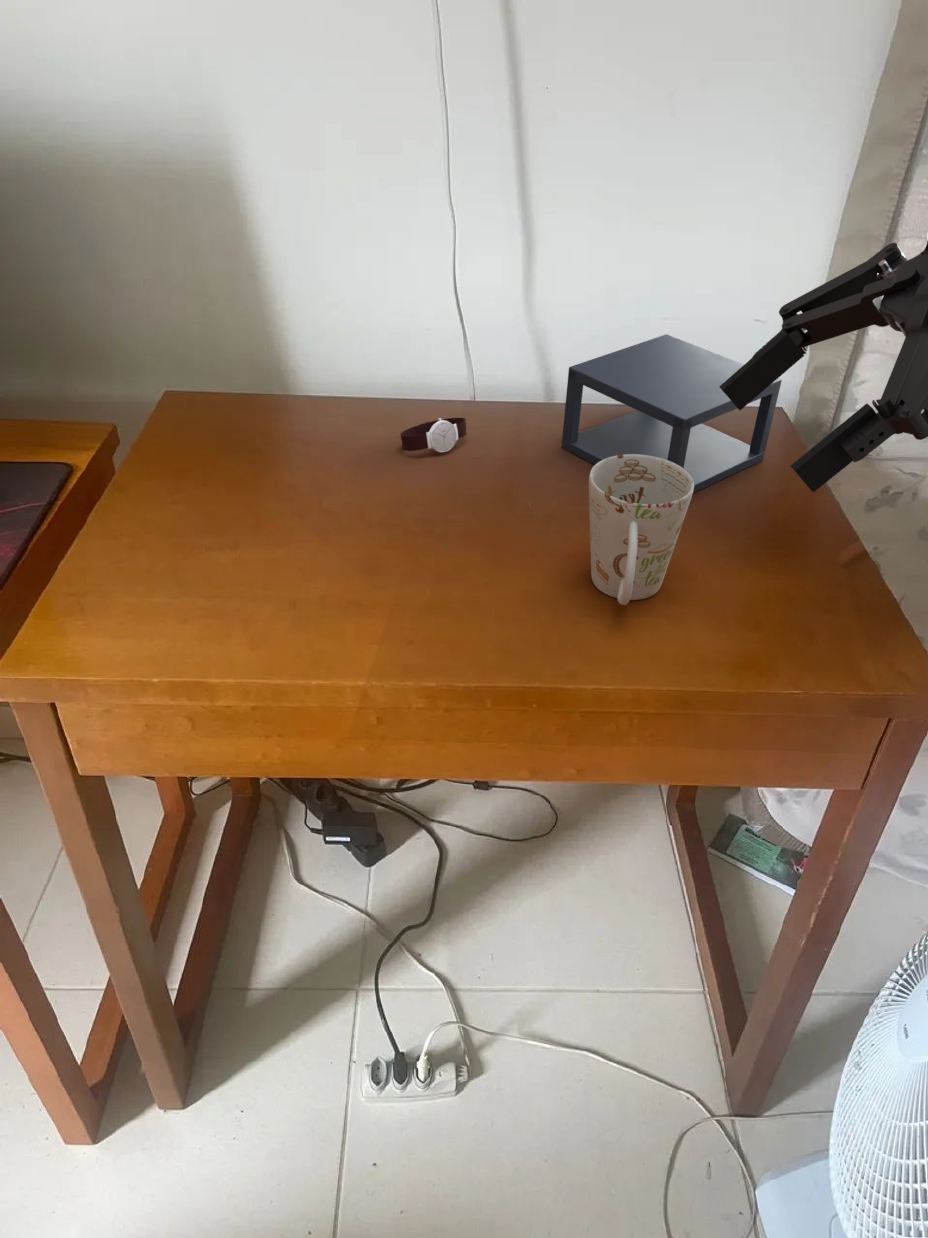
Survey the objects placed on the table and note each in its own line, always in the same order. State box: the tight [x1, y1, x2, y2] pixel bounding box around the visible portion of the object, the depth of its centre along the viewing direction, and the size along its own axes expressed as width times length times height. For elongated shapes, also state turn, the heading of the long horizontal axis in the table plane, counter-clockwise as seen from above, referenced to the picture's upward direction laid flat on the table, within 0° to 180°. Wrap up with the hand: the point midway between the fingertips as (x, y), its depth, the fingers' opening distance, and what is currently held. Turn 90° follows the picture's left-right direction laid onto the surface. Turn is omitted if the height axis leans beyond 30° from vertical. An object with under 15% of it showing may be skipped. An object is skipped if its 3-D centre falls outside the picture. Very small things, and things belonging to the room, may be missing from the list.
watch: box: [400, 417, 467, 453], centre depth 103 cm, size 8×5×4 cm, turn 126°
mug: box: [588, 454, 694, 606], centre depth 80 cm, size 8×13×10 cm, turn 172°
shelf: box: [561, 333, 783, 494], centre depth 101 cm, size 15×15×9 cm
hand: (762, 436), depth 76 cm, fingers open, 13 cm apart
